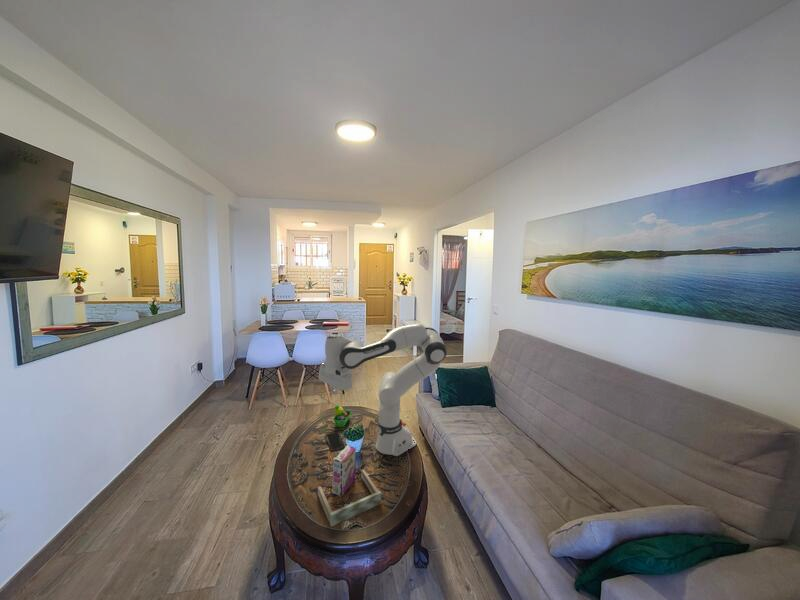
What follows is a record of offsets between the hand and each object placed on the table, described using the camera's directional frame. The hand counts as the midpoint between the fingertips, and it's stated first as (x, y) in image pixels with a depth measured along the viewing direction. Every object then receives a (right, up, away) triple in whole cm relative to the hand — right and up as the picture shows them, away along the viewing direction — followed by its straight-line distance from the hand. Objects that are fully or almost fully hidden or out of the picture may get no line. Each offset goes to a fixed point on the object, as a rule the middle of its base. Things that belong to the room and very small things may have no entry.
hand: (334, 393), depth 146 cm
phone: (-4, -32, +17) cm, 37 cm away
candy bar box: (+7, -37, -14) cm, 40 cm away
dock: (+10, -38, -21) cm, 44 cm away
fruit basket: (-4, -29, +36) cm, 47 cm away
